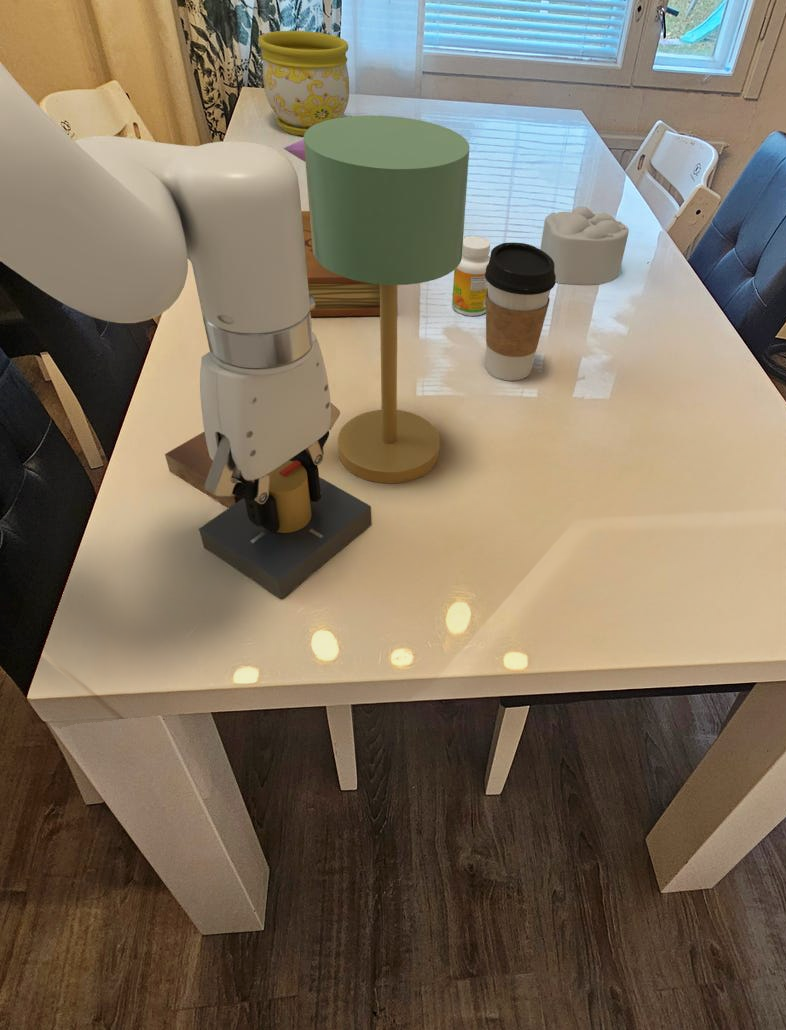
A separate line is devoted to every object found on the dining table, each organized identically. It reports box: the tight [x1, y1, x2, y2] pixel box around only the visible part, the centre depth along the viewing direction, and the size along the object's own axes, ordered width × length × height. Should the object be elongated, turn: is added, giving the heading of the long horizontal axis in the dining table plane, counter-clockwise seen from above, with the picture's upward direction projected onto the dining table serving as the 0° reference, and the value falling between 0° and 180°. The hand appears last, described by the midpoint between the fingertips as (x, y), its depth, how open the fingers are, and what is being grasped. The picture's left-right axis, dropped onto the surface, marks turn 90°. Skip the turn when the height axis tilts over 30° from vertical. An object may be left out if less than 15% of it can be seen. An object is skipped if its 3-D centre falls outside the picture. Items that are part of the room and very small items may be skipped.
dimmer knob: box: [269, 460, 312, 533], centre depth 63 cm, size 4×4×5 cm
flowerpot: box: [257, 30, 350, 137], centre depth 150 cm, size 18×18×16 cm
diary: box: [301, 210, 380, 317], centre depth 103 cm, size 23×19×6 cm
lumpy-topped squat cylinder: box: [539, 206, 630, 286], centre depth 112 cm, size 10×13×9 cm
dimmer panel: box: [198, 476, 372, 600], centre depth 66 cm, size 12×10×3 cm
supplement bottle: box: [451, 235, 491, 317], centre depth 99 cm, size 5×5×10 cm
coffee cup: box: [485, 242, 557, 382], centre depth 86 cm, size 8×8×15 cm
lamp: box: [303, 115, 470, 484], centre depth 67 cm, size 13×13×32 cm
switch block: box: [164, 431, 324, 509], centre depth 73 cm, size 12×10×4 cm
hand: (286, 507), depth 65 cm, fingers closed on dimmer knob, 4 cm apart
